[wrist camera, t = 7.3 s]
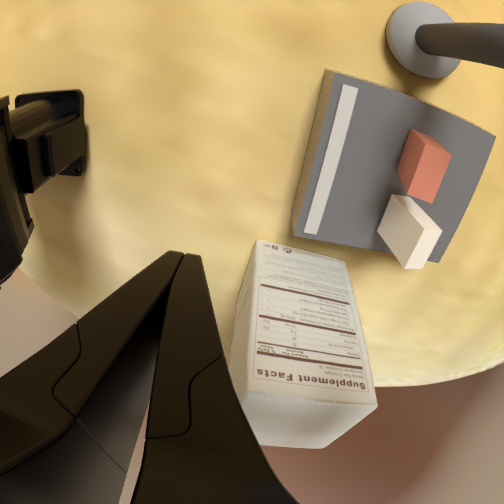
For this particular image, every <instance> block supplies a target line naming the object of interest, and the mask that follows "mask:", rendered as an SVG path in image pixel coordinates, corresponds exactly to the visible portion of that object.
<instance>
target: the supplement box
mask: <svg viewBox="0 0 504 504" xmlns="http://www.w3.org/2000/svg"><path fill="white" fill-rule="evenodd" d="M229 373H230V376H231V379H232V382H233V385H234V389H235V391H236V394H237V396H238V399H239V401H240V404H241V406H242V409H243V411H244V413H245V415H246V417H247V420H248V422H249V424H250V426H251V428H252V430H253V432H254V434H255V436H256V438H257V440H258V442H259V444H260V445H268V446H280V447H295V448H324V447H326V446H327V445H328V444H330V443H331V442H333V441H334V440H335V439H337V438H338V437H340V436H341V435H342V434H343V433H345V432H346V431H348V430H349V429H350V428H352V427H353V426H354V425H355V424H357V423H358V422H359V421H361V420H362V419H363V418H364V417H366V416H367V415H368V414H369V413H371V412H372V411H373V410H375V409H376V408H377V407H378V404H377V399H376V394H375V388H374V381H373V377H372V371H371V367H370V362H369V356H368V351H367V347H366V342H365V337H364V333H363V329H362V324H361V320H360V316H359V311H358V307H357V303H356V299H355V295H354V291H353V287H352V284H351V280H350V276H349V273H348V269H347V265H346V262H345V261H344V260H341V259H337V258H334V257H330V256H325V255H322V254H318V253H314V252H309V251H306V250H302V249H297V248H293V247H289V246H285V245H281V244H277V243H272V242H268V241H264V240H256V243H255V246H254V248H253V251H252V254H251V257H250V260H249V264H248V267H247V270H246V273H245V277H244V280H243V283H242V287H241V290H240V293H239V297H238V300H237V303H236V313H235V321H234V330H233V338H232V345H231V353H230V362H229Z"/></svg>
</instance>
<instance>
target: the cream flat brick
mask: <svg viewBox="0 0 504 504" xmlns="http://www.w3.org/2000/svg"><path fill="white" fill-rule="evenodd" d="M377 232H378V233H379V234H380V236H381V237H382V239H383V240H384V241H385V243H386V244H387V245H388V247H389V248H390V250H391V251H392V252H393V254H394V255H395V257H396V258H397V259H398V261H399V262H400V264H401V265H402V267H403V268H404V269H422V268H423V267H424V265H425V263H426V261H427V259H428V257H429V256H430V254H431V252H432V250H433V248H434V246H435V244H436V242H437V240H438V238H439V236H440V235H441V233H442V230H441V229H440V228H439V227H438V226H437V225H436V223H435V222H434V221H433V220H432V219H431V218H430V217H429V216H428V215H427V214H426V213H425V212H424V211H423V210H422V209H421V208H420V207H419V206H418V205H417V204H416V203H415V202H414V201H413V200H412V199H411V198H410V197H407V196H401V195H395V194H392V195H391V198H390V201H389V203H388V206H387V208H386V211H385V213H384V216H383V218H382V220H381V223H380V225H379V228H378V230H377Z"/></svg>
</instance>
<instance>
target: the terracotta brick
mask: <svg viewBox="0 0 504 504" xmlns="http://www.w3.org/2000/svg"><path fill="white" fill-rule="evenodd" d="M451 156H452V155H451V154H450V153H449V152H448V151H447V150H446V149H445V148H444V147H443V146H442V145H441V144H440V143H439V142H437V141H436V140H435V139H434V138H433V137H431V136H429V135H426V134H424V133H421V132H419V131H416V130H414V129H411V128H410V131H409V134H408V138H407V141H406V144H405V147H404V150H403V153H402V156H401V158H400V161H399V164H398V167H397V172H398V174H399V177H400V179H401V181H402V184H403V186H404V188H405V191H406V193H407V194H408V195H410V196H413V197H416V198H418V199H421V200H424V201H426V202H429V203H431V204H432V203H433V201H434V198H435V196H436V194H437V191H438V189H439V186H440V184H441V182H442V179H443V177H444V174H445V172H446V169H447V166H448V164H449V161H450V158H451Z"/></svg>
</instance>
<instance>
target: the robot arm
mask: <svg viewBox="0 0 504 504" xmlns="http://www.w3.org/2000/svg"><path fill="white" fill-rule="evenodd" d="M74 94H76V96H77V99H75V98H74ZM20 99H21V102H20ZM9 104H10V103H9V95H8V96H4V97H1V98H0V285H1V284H2V283H4V282H5V281H6V280H7V279H8V278H9V277H10V276H11V275H12V274H13V272H14V271H15V270H16V269H17V268H18V266H19V265H20V264H21V262H22V260H23V258H22V254H23V251H24V249H25V247H26V245H27V243H28V240H29V237H30V235H31V233H32V231H33V229H34V223H33V220H32V218H30V214H29V211H28V207H27V203H26V200H25V196H26V195H28V194H29V193H34V192H35V191H36V190H37V189H38V188H39V187H41V186H42V185H43V184H44V183H45V182H47V181H48V180H49V179H50V178H51V177H55V176H56V175H57V174H58V175H69V176H81V175H82V174H83V173H84V172H85V156H84V153H85V136H84V119H83V95H82V92H81V91H80V90H79V89H71V90H56V91H44V92H35V93H26V94H21V95H18V96H17V97H16V98H15V109H14V110H11V111H9V109H8V105H9ZM77 167H79V169H80V171H79V170H78V169H77ZM0 289H1V287H0ZM149 401H150V405H149V411H148V419H147V427H146V435H145V439H146V441H145V444H144V453H143V458H142V463H141V468H140V472H139V475H138V478H137V482H136V486H135V489H134V492H133V496H132V499H131V502H130V504H300V503H299V502H298V501H297V500H296V499H295V498H294V497H293V496H292V495H291V494H290V493H289V491H288V490H287V489H286V488H285V487H284V486H283V484H282V483H281V482H280V480H279V479H278V477H277V476H276V474H275V473H274V471H273V469H272V468H271V466H270V464H269V462H268V460H267V459H266V457H265V455H264V453H263V451H262V449H261V447H260V444H259V442H258V440H257V438H256V436H255V434H254V432H253V430H252V428H251V426H250V424H249V422H248V420H247V417H246V415H245V413H244V411H243V409H242V406H241V404H240V401H239V399H238V396H237V394H236V391H235V389H234V385H233V382H232V379H231V376H230V373H229V369H228V365H227V362H226V358H225V357H224V351H223V347H222V343H221V339H220V335H219V331H218V327H217V323H216V319H215V315H214V311H213V306H212V302H211V298H210V294H209V289H208V285H207V281H206V276H205V272H204V267H203V263H202V258H201V256H200V255H195V254H189V253H187V254H185V255H184V253H183V252H177V251H168V252H166V253H165V254H163V255H162V256H161V257H159V258H158V259H157V260H155V261H154V262H153V263H151V264H150V265H149V266H147V267H146V268H145V269H143V270H142V271H141V272H139V273H138V274H137V275H135V276H134V277H133V278H132V279H130V280H129V281H128V282H126V283H125V284H124V285H122V286H121V287H120V288H119V289H117V290H116V291H115V292H113V293H112V294H111V295H110V296H108V297H107V298H106V299H104V300H103V301H102V302H101V303H99V304H98V305H97V306H96V307H94V308H93V309H92V310H91V311H89V312H88V313H87V314H86V315H84V316H83V317H82V318H81V319H79V320H78V321H77V324H73V325H72V326H71V327H70V328H68V329H67V330H66V331H65V332H63V333H62V334H61V335H59V336H58V337H57V338H56V339H54V340H53V341H52V342H51V343H49V344H48V345H47V346H45V347H44V348H42V349H41V350H40V351H38V352H37V353H35V354H34V355H33V356H31V357H30V358H28V359H27V360H25V361H24V362H22V363H21V364H19V365H18V366H16V367H15V368H14V369H12V370H11V371H9V372H8V373H6V374H5V375H4V376H2V377H1V378H0V504H118V503H119V499H120V496H121V493H122V489H123V486H124V482H125V478H126V473H127V471H128V468H129V464H130V461H131V458H132V454H133V451H134V448H135V444H136V441H137V438H138V435H139V432H140V428H141V425H142V422H143V419H144V416H145V413H146V409H147V407H148V404H149Z"/></svg>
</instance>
